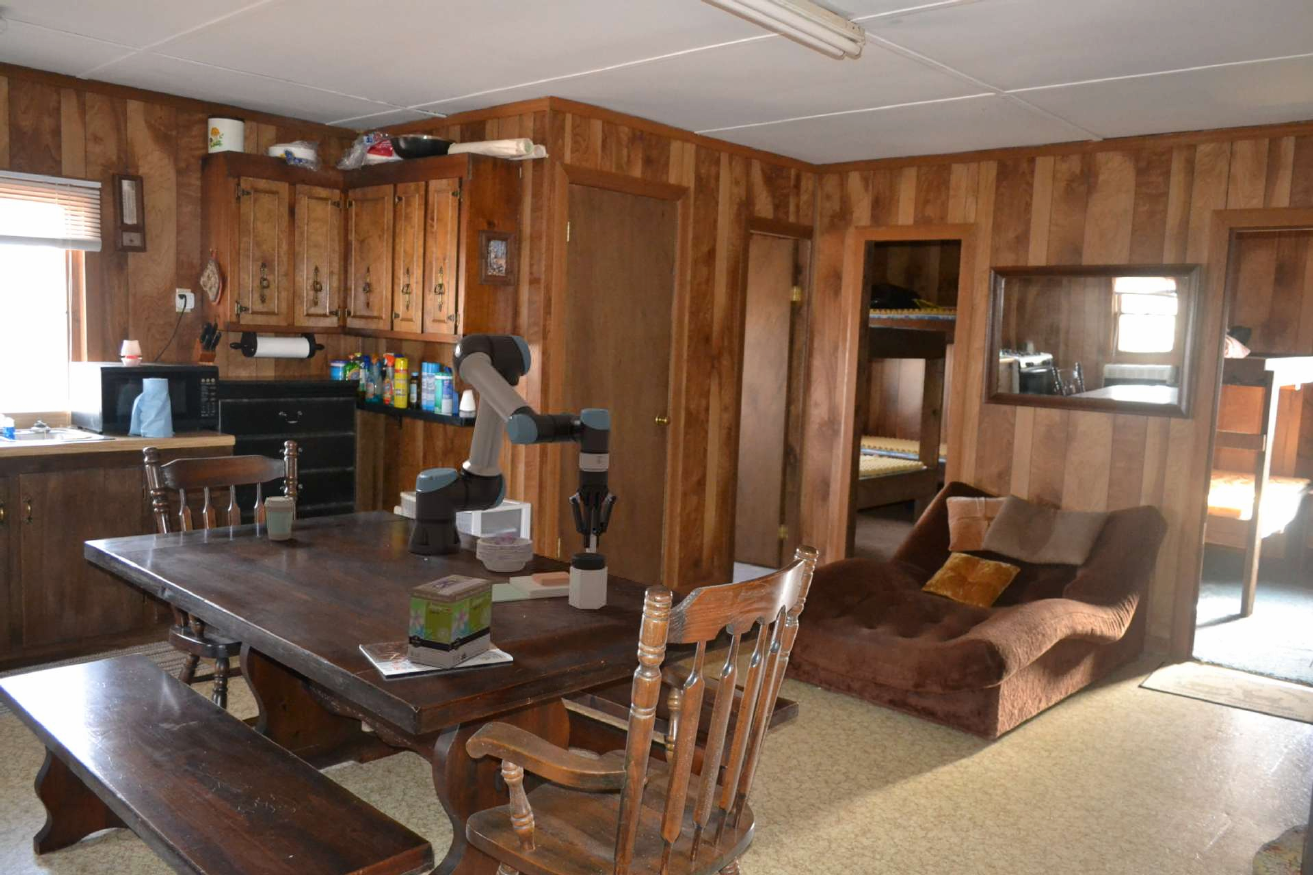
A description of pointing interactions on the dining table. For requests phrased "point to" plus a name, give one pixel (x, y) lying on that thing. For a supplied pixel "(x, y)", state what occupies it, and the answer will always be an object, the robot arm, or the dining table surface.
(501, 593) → the mat
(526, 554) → the paper bowls
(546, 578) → the tile
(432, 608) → the tea box
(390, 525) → the dining table surface
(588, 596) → the jar
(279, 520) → the coffee cup
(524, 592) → the pale grey flat slab
